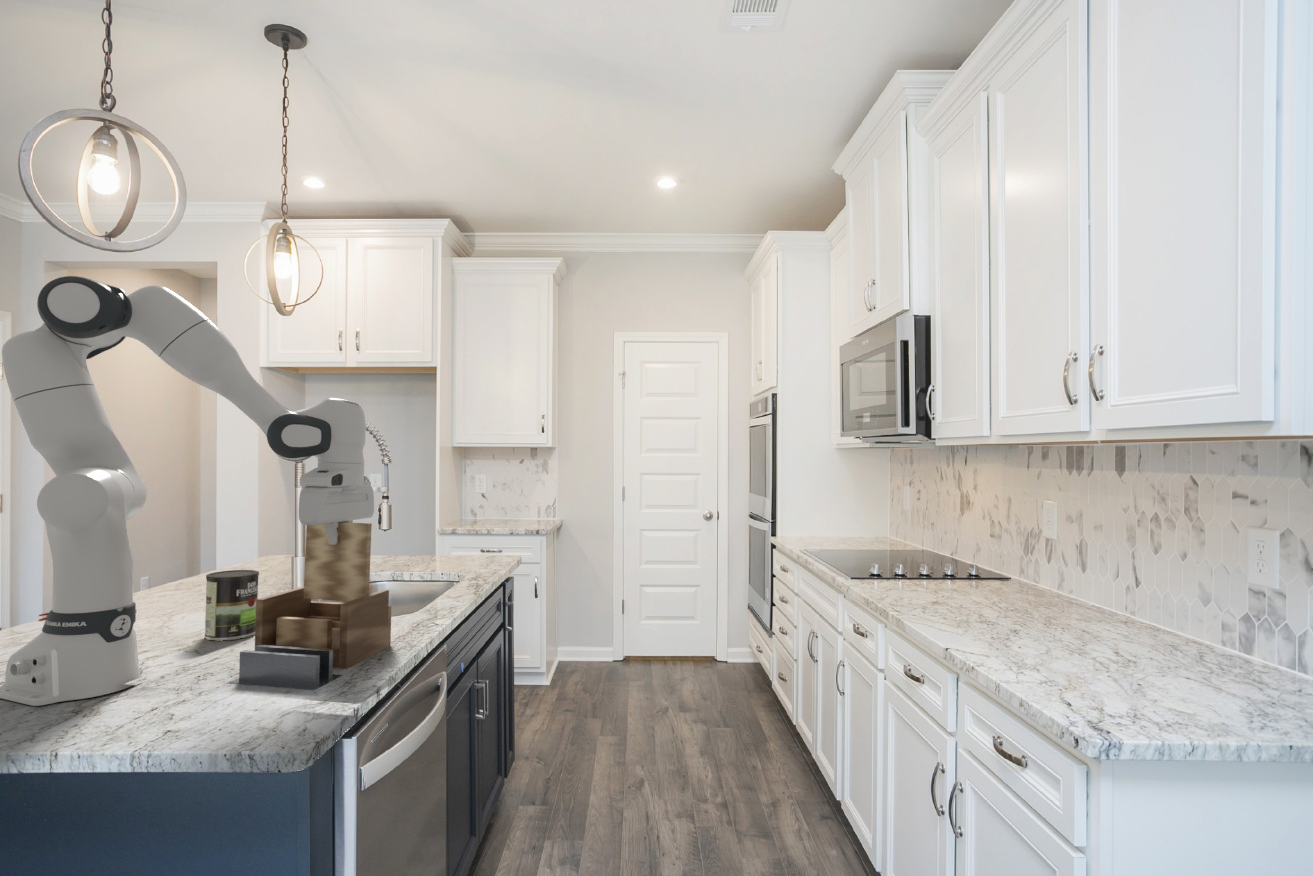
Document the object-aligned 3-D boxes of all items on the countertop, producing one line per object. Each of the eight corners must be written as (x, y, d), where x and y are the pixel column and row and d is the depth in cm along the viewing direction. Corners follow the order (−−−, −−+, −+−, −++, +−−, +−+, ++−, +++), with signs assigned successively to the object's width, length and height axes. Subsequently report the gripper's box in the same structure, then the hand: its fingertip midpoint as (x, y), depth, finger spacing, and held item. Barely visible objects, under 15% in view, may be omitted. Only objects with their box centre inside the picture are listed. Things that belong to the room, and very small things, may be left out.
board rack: (252, 670, 130) (254, 599, 130) (308, 647, 146) (309, 584, 146) (344, 677, 127) (346, 605, 127) (391, 653, 143) (392, 588, 143)
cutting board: (303, 598, 141) (306, 521, 141) (307, 597, 142) (310, 520, 142) (365, 602, 138) (368, 524, 139) (368, 601, 139) (371, 523, 140)
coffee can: (267, 630, 159) (269, 570, 159) (233, 642, 149) (235, 578, 149) (228, 628, 161) (230, 568, 161) (192, 639, 150) (194, 576, 151)
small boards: (275, 659, 132) (276, 618, 133) (291, 652, 137) (292, 613, 137) (342, 664, 130) (344, 622, 130) (356, 657, 134) (357, 616, 135)
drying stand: (226, 691, 119) (227, 654, 119) (260, 677, 126) (261, 641, 127) (313, 698, 116) (314, 660, 116) (342, 683, 124) (343, 647, 124)
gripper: (357, 475, 152) (354, 537, 151) (293, 477, 131) (290, 548, 131) (382, 476, 150) (380, 538, 150) (323, 478, 130) (320, 550, 130)
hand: (338, 543), depth 140 cm, fingers closed on cutting board, 1 cm apart
